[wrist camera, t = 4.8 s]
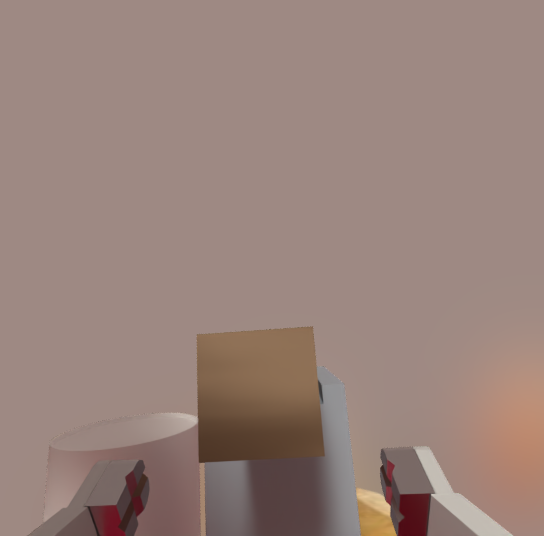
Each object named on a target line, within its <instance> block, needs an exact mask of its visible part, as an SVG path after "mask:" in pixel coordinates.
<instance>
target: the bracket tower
mask: <svg viewBox="0 0 544 536" xmlns="http://www.w3.org/2000/svg"><path fill="white" fill-rule="evenodd" d="M317 377H318V387H319V398H320V409H321V420H322V430H323V441H324V452H325V456H322V457H302V458H283V459H263V460H244V461H224V462H205V511H206V536H361V533H360V524H359V515H358V505H357V496H356V487H355V478H354V470H353V460H352V451H351V443H350V434H349V424H348V415H347V406H346V397H345V387H344V383H343V382H341V381H340V380H339V379H338V378H337V377H335V376H334V375H333V374H332V373H331V372H330V371H328V370H327V369H326V368H325V367H324V366H322V367H317Z"/></svg>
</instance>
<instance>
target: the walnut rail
mask: <svg viewBox="0 0 544 536" xmlns="http://www.w3.org/2000/svg"><path fill="white" fill-rule="evenodd" d="M197 380H198V381H197V384H198V456H199V463H205V462H224V461H244V460H263V459H283V458H302V457H322V456H325V452H324V441H323V430H322V420H321V409H320V398H319V387H318V377H317V366H316V356H315V345H314V334H313V327H298V328H284V329H269V330H255V331H241V332H226V333H213V334H197Z"/></svg>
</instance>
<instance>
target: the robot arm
mask: <svg viewBox="0 0 544 536" xmlns="http://www.w3.org/2000/svg"><path fill="white" fill-rule="evenodd" d="M381 460H382V463H383V465H382V466H381V468H380V477H381V485H382V489H383V493H384V497H385V500H386V502H387V503H388V504H389V505H390V506H391V515H390V516H391V519H392V522H393V525H394V528H395V531H396V534H397V536H513V535H512V534H511V533H509V532H508V531H507V530H505V529H504V528H503V527H502V526H500V525H499V524H498V523H496V522H495V521H494V520H493V519H491V518H490V517H489V516H488V515H486V514H485V513H484V512H483V511H481V510H480V509H479V508H477V507H476V506H475V505H474V504H472V503H471V502H470V501H469V500H467V499H466V498H465V497H463V496H462V495H461V494H460V493H454V492H453V490H452V488H451V486H450V484H449V482H448V481H447V479H446V477H445V475H444V473H443V471H442V469H441V467H440V466H439V464H438V462H437V460H436V458H435V457H434V454H433V453H432V451H431V449H430V448H429V447H428V446H422V447H400V448H383V449H381ZM144 469H145V465H144V462H143V460H104V461H98V462H97V463H95V464H94V466H93V467H92V469H91V470H90V472H89V473H88V475H87V477H86V478H85V480H84V481H83V483H82V485H81V486H80V488H79V489H78V491H77V493H76V494H75V496H74V497H73V499H72V501H71V502H70V504H69V505H68V507H67V508H62V509H61V510H59V511H58V512H57V513H56V514H54V515H53V516H52V517H51V518H49V519H48V520H47V521H46V522H44V523H43V524H42V525H41V526H39V527H38V528H37V529H35V530H34V531H33V532H32V533H31V534H29V535H28V536H134V534H135V532H136V529H137V527H138V520H137V517H138V516H139V515H140V514H141V513H142V512H143V511H144V509H145V507H146V504H147V501H148V496H149V491H150V488H149V480H148V477H147V476H146V475H145V474H143V472H144Z"/></svg>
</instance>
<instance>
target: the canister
mask: <svg viewBox="0 0 544 536" xmlns="http://www.w3.org/2000/svg"><path fill="white" fill-rule="evenodd" d="M104 460H143V462H144V465H145V469H144V472H143V474H145V475H146V476H147V477H148V480H149V488H150V491H149V496H148V501H147V504H146V507H145V509H144V511H143V512H142V513H141V514H140V515H139V516H138V517H137V520H138V527H137V529H136V532H135V534H134V536H200V476H199V475H200V473H199V456H198V417H196V416H194V415H190V414H185V413H152V414H141V415H133V416H126V417H120V418H114V419H109V420H104V421H100V422H96V423H92V424H88V425H84V426H81V427H78V428H74V429H72V430H69V431H66V432H64V433H62V434H60V435H58V436H56V437H54V438H53V439H52V440H51V441H50V442H49V453H48V465H47V478H46V490H45V503H44V517H43V523H44V522H46V521H47V520H48V519H49V518H51V517H52V516H53V515H54V514H56V513H57V512H58V511H59V510H61V509H62V508H67V507H68V505H69V504H70V502H71V501H72V499H73V497H74V496H75V494H76V493H77V491H78V489H79V488H80V486H81V485H82V483H83V481H84V480H85V478H86V477H87V475H88V473H89V472H90V470H91V469H92V467H93V466H94V464H95V463H97V462H98V461H104Z"/></svg>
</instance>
